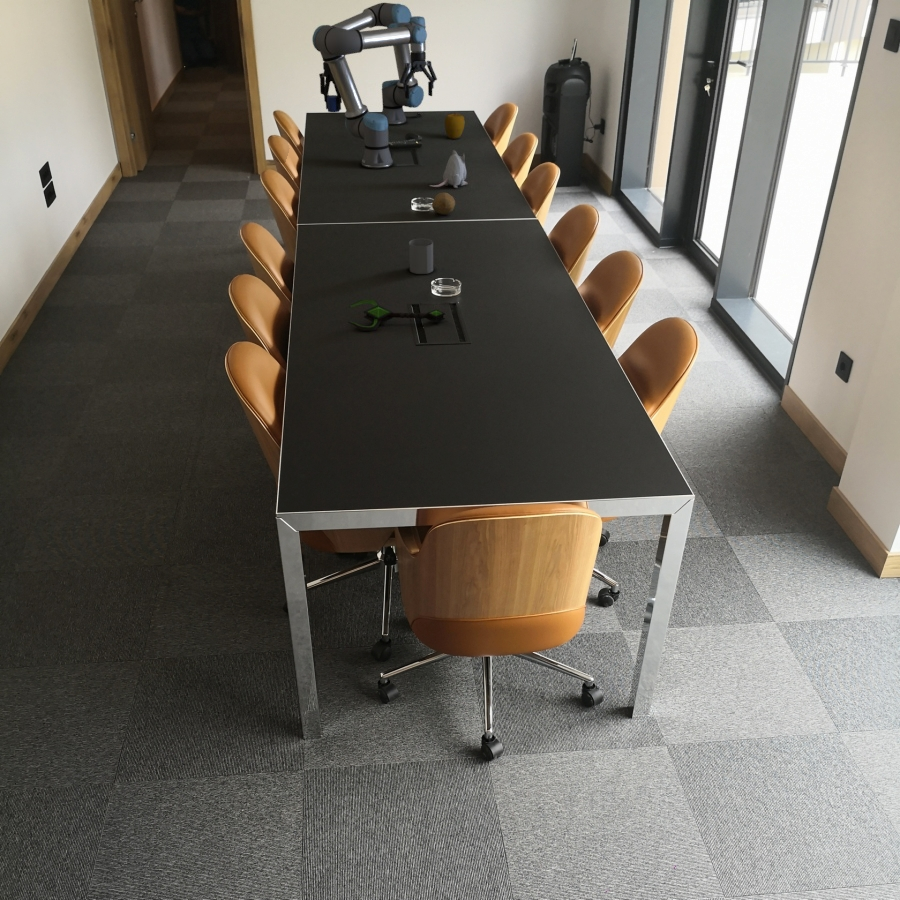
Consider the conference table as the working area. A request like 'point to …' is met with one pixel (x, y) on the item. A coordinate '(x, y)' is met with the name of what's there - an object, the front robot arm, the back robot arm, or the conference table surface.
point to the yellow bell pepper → (454, 125)
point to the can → (332, 103)
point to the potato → (443, 203)
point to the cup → (421, 256)
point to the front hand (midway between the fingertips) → (418, 97)
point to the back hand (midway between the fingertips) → (333, 109)
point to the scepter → (391, 315)
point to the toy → (454, 171)
